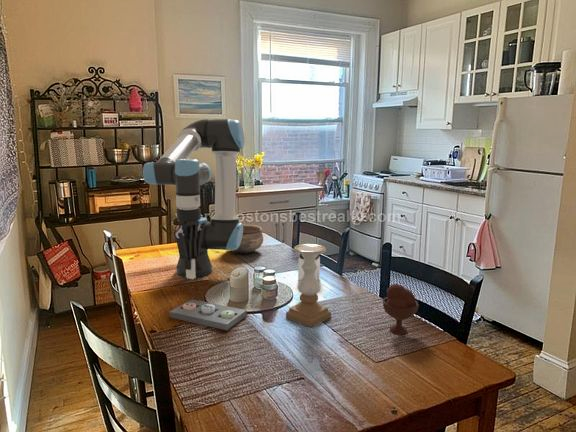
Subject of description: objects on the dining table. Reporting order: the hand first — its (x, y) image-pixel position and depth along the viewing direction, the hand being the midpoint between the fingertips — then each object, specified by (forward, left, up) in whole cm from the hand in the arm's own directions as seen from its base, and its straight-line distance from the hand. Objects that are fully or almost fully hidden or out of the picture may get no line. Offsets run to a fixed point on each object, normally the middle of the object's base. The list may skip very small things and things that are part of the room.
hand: (190, 277), depth 147 cm
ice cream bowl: (+65, +17, -13) cm, 69 cm away
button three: (+6, 0, -13) cm, 14 cm away
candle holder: (+36, +14, -13) cm, 41 cm away
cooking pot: (-22, +72, -13) cm, 76 cm away
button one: (+14, 0, -13) cm, 19 cm away
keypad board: (+6, 0, -13) cm, 14 cm away
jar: (+22, +49, -13) cm, 56 cm away
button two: (-1, 0, -13) cm, 13 cm away
